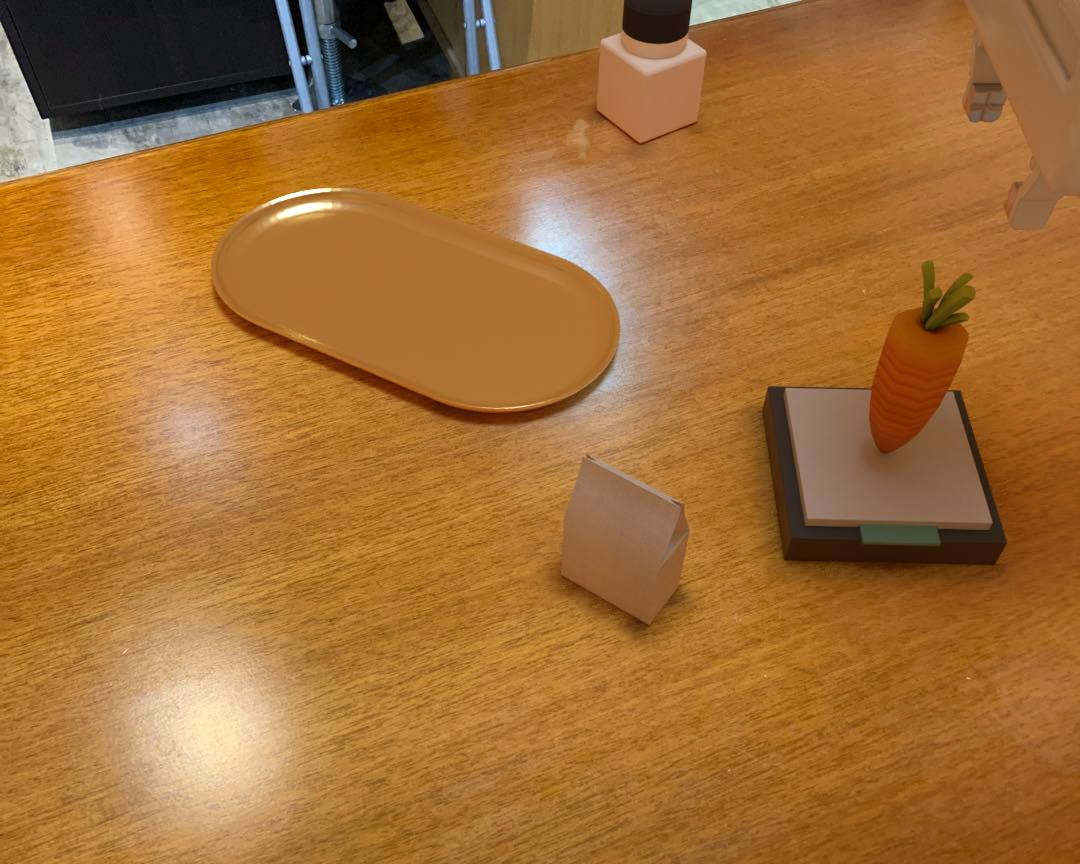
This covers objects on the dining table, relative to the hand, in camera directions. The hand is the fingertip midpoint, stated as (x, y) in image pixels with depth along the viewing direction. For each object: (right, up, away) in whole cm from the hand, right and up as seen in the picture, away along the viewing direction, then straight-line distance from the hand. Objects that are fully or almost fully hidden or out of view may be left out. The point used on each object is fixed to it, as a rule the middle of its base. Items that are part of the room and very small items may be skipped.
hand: (999, 165), depth 57 cm
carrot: (-1, -14, +17) cm, 22 cm away
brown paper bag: (-19, -22, +14) cm, 33 cm away
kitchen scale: (-1, -16, +20) cm, 25 cm away
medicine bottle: (-14, +21, +48) cm, 54 cm away
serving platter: (-34, -1, +31) cm, 46 cm away
